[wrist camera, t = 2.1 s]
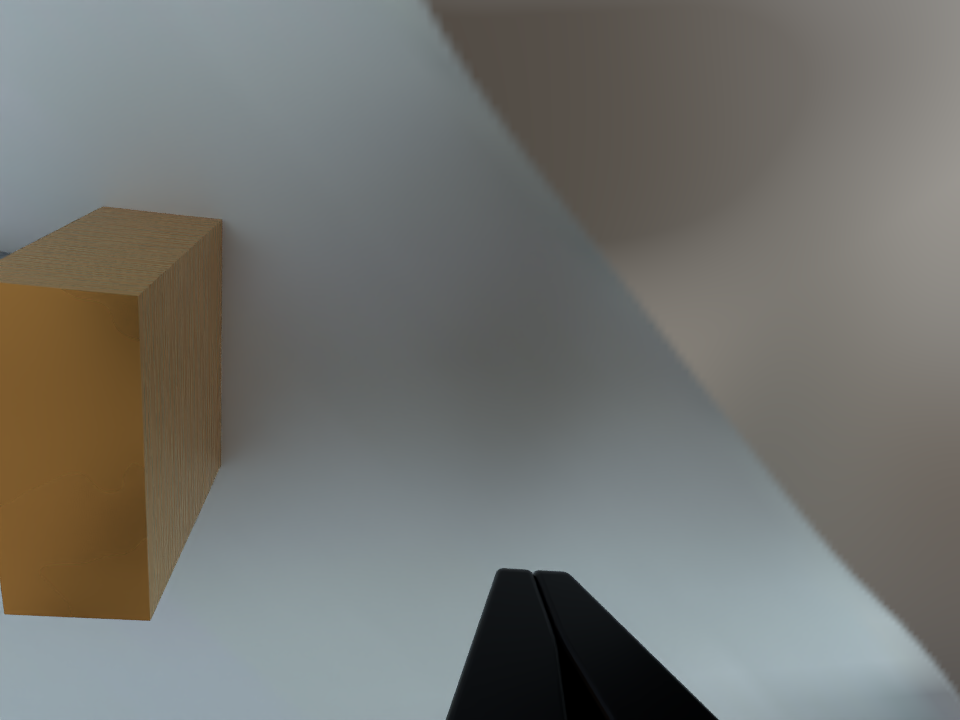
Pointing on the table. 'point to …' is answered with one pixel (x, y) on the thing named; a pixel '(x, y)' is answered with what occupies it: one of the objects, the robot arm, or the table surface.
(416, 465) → the table surface
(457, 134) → the table surface
